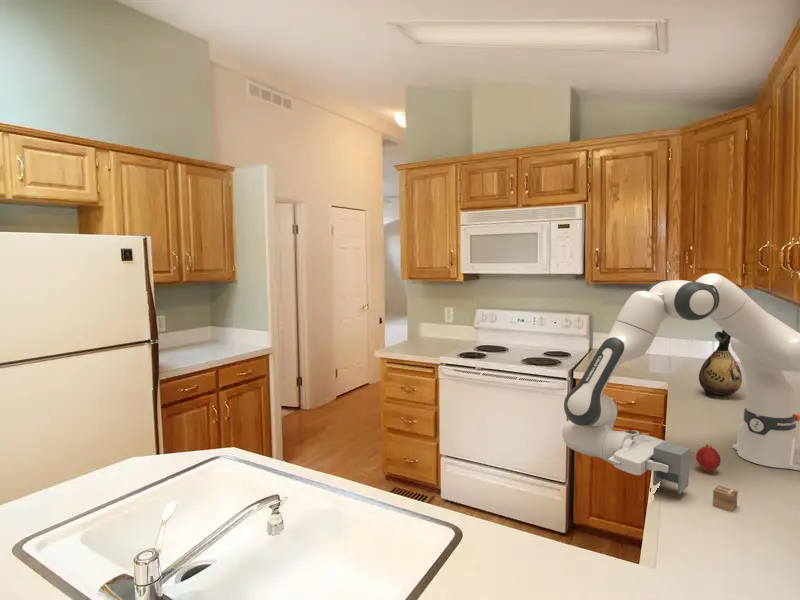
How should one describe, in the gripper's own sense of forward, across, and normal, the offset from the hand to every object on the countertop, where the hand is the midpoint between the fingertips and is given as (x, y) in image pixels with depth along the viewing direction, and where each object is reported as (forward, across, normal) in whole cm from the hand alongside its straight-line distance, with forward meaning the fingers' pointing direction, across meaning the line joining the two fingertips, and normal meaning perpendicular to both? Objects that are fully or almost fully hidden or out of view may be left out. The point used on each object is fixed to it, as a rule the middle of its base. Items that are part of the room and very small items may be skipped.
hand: (674, 464), depth 123 cm
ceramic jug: (-18, +108, +8) cm, 110 cm away
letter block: (+10, +3, +8) cm, 13 cm away
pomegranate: (+2, +21, +8) cm, 23 cm away
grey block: (-1, 0, +6) cm, 6 cm away
